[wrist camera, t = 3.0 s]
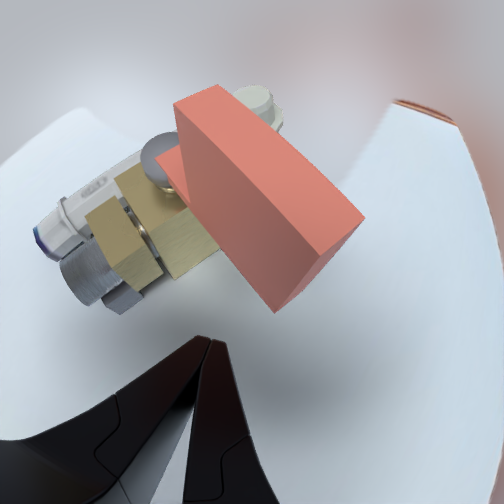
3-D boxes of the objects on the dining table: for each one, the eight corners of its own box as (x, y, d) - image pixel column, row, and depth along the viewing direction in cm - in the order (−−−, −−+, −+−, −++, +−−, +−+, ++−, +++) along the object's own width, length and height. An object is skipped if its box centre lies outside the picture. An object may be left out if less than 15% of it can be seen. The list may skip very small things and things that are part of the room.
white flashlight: (26, 212, 20) (260, 63, 23) (65, 238, 26) (261, 109, 30) (39, 259, 18) (298, 90, 22) (82, 279, 25) (292, 137, 28)
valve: (114, 323, 21) (52, 293, 12) (88, 277, 22) (29, 228, 13) (272, 212, 25) (292, 138, 17) (239, 177, 27) (245, 99, 18)
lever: (135, 161, 15) (102, 60, 9) (180, 136, 16) (166, 33, 10) (260, 324, 12) (296, 275, 6) (312, 283, 13) (381, 203, 7)
